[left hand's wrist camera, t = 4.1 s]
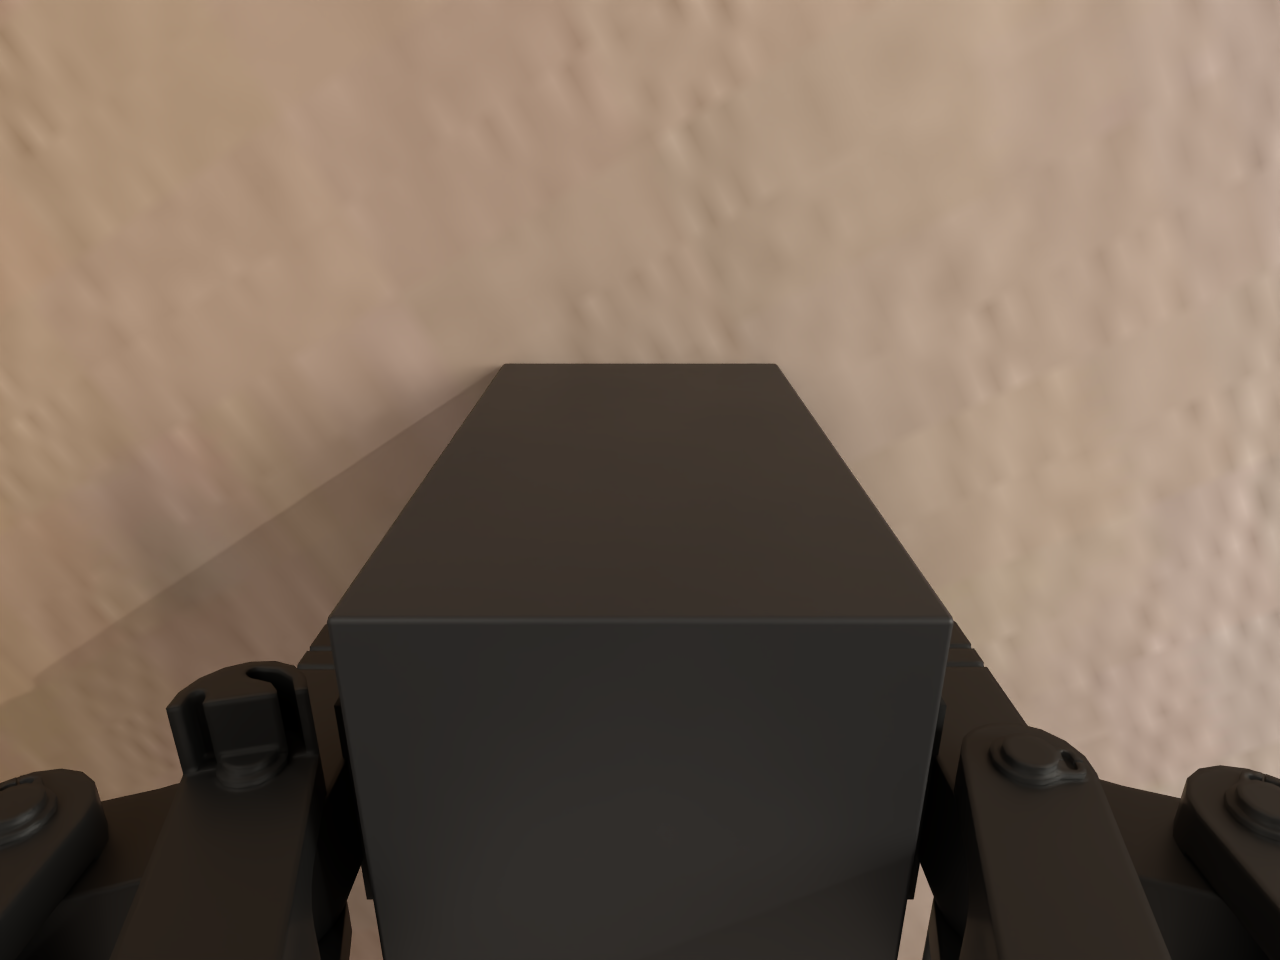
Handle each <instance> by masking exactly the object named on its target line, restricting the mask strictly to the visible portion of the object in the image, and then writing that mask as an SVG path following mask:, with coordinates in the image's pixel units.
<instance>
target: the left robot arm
mask: <svg viewBox="0 0 1280 960" xmlns="http://www.w3.org/2000/svg"><path fill="white" fill-rule="evenodd" d="M297 666H298V667H297V668H296V667H295V666H293V665H289V664H285V663H281V662H277V661H262V662H248V663H243V664H239V665H235V666H230V667H226V668H223V669H220V670H218V671H216V672H213V673H211V674H209V675H206V676H204V677H201V678H199V679H198V680H196V681H195V682H193V683H192V684H190V685H189V686H187V687H186V688H185V689H183V690H182V691H180V692H179V693H178V694H177V695H176V696H175V698H174V699H173V700H172V701H171V703H170V704H169V705H168V706H167V708H166V711H167V714H168V718H169V722H170V726H171V730H172V733H173V737H174V741H175V745H176V748H177V752H178V756H179V760H180V764H181V767H182V771H183V777H182V779H181V782H180V783H178V784H174V785H171V786H167V787H164V788H161V789H156V790H152V791H147V792H143V793H138V794H133V795H129V796H124V797H120V798H115V799H111V800H106V801H102V802H101V800H100V797H99V794H98V791H97V788H96V785H95V782H94V781H93V780H92V779H91V778H89V777H88V776H87V775H86V774H85V773H83V772H80V771H73V770H67V769H55V770H47V771H39V772H33V773H30V774H27V775H23V776H20V777H17V778H13V779H10V780H8V781H5V782H2V783H0V960H349V957H350V947H351V936H352V928H351V922H350V915H349V909H348V904H347V899H348V896H349V894H350V891H351V889H352V886H353V884H354V881H355V879H356V876H357V874H358V871H359V869H360V866H361V867H362V873H363V879H364V885H365V891H366V897H367V899H373V895H372V889H371V883H370V877H369V871H368V865H367V859H366V853H365V847H364V841H363V835H362V829H361V823H360V817H359V811H358V805H357V799H356V793H355V787H354V781H353V775H352V769H351V763H350V757H349V751H348V745H347V739H346V733H345V727H344V721H343V715H342V709H341V703H340V697H339V691H338V685H337V679H336V673H335V667H334V661H333V655H332V649H331V643H330V637H329V631H328V625H327V624H326V625H325V626H324V627H323V629H322V630H321V632H320V633H319V634H318V636H317V637H316V639H315V640H314V642H313V643H312V645H311V646H310V651H307V652H306V653H305V655H304V656H303V658H302V659H301V661H300V662H299V663H298V665H297ZM920 863H921V866H922V868H923V871H924V873H925V876H926V878H927V881H928V883H929V886H930V888H931V891H932V893H933V896H934V899H933V904H932V909H931V915H930V920H929V926H928V931H927V937H926V942H925V948H924V953H923V958H922V960H1280V779H1278V778H1275V777H1273V776H1270V775H1267V774H1262V773H1261V772H1257V771H1253V770H1250V769H1245V768H1237V767H1229V766H1221V765H1220V766H1213V767H1207V768H1200V769H1198V770H1197V771H1196V772H1194V773H1193V774H1192V775H1191V776H1190V777H1188V778H1187V781H1186V784H1185V787H1184V790H1183V793H1182V796H1181V799H1180V798H1176V797H1171V796H1167V795H1162V794H1158V793H1153V792H1148V791H1144V790H1139V789H1135V788H1130V787H1126V786H1121V785H1118V784H1114V783H1111V782H1107V781H1104V780H1100V779H1099V778H1098V775H1097V773H1096V772H1095V770H1094V769H1093V767H1092V766H1091V764H1090V763H1089V761H1088V760H1087V759H1086V757H1085V756H1084V755H1083V754H1081V753H1080V752H1079V751H1078V750H1076V749H1075V748H1074V747H1072V746H1071V745H1070V744H1069V743H1067V742H1066V741H1064V740H1062V739H1060V738H1058V737H1056V736H1054V735H1052V734H1050V733H1048V732H1046V731H1043V730H1041V729H1037V728H1033V727H1030V726H1027V724H1026V723H1025V721H1024V720H1023V718H1022V717H1021V716H1020V714H1019V713H1018V711H1017V710H1016V708H1015V707H1014V705H1013V704H1012V703H1011V701H1010V700H1009V698H1008V697H1007V695H1006V694H1005V692H1004V691H1003V690H1002V688H1001V687H1000V685H999V684H998V682H997V681H996V679H995V678H994V677H993V675H992V674H991V672H990V671H989V669H988V668H987V667H984V662H983V661H982V659H981V658H980V656H979V655H978V654H977V652H976V651H975V649H971V643H970V642H969V641H968V639H967V638H966V636H965V635H964V633H963V632H962V630H961V629H960V628H959V626H958V625H957V623H956V622H955V621H953V629H952V635H951V641H950V647H949V653H948V659H947V665H946V671H945V677H944V683H943V689H942V695H941V701H940V707H939V713H938V719H937V725H936V731H935V737H934V743H933V748H932V754H931V760H930V766H929V772H928V778H927V784H926V790H925V796H924V802H923V808H922V814H921V820H920V826H919V832H918V838H917V844H916V850H915V856H914V862H913V868H912V874H911V880H910V886H909V892H908V898H907V899H914V894H915V888H916V882H917V876H918V871H919V865H920Z"/></svg>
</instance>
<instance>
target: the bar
mask: <svg viewBox="0 0 1280 960" xmlns="http://www.w3.org/2000/svg"><path fill="white" fill-rule="evenodd" d="M327 625H328V631H329V637H330V643H331V649H332V655H333V661H334V667H335V673H336V679H337V685H338V691H339V697H340V703H341V709H342V715H343V721H344V727H345V733H346V739H347V745H348V751H349V757H350V763H351V769H352V775H353V781H354V787H355V793H356V799H357V805H358V811H359V817H360V823H361V829H362V835H363V841H364V847H365V853H366V859H367V865H368V871H369V877H370V883H371V889H372V895H373V901H374V907H375V913H376V919H377V925H378V931H379V937H380V943H381V949H382V955H383V960H897V958H898V952H899V946H900V940H901V934H902V928H903V922H904V916H905V910H906V904H907V898H908V892H909V886H910V880H911V874H912V868H913V862H914V856H915V850H916V844H917V838H918V832H919V826H920V820H921V814H922V808H923V802H924V796H925V790H926V784H927V778H928V772H929V766H930V760H931V754H932V748H933V743H934V737H935V731H936V725H937V719H938V713H939V707H940V701H941V695H942V689H943V683H944V677H945V671H946V665H947V659H948V653H949V647H950V641H951V635H952V629H953V618H952V616H951V615H950V613H949V612H948V610H947V609H946V607H945V606H944V605H943V603H942V602H941V600H940V599H939V597H938V596H937V595H936V593H935V592H934V590H933V589H932V587H931V586H930V584H929V583H928V582H927V580H926V579H925V577H924V576H923V574H922V573H921V572H920V570H919V569H918V567H917V566H916V564H915V563H914V561H913V560H912V559H911V557H910V556H909V554H908V553H907V551H906V550H905V548H904V547H903V546H902V544H901V543H900V541H899V540H898V538H897V537H896V536H895V534H894V533H893V531H892V530H891V528H890V527H889V525H888V524H887V523H886V521H885V520H884V518H883V517H882V515H881V514H880V513H879V511H878V510H877V508H876V507H875V505H874V504H873V502H872V501H871V500H870V498H869V497H868V495H867V494H866V492H865V491H864V490H863V488H862V487H861V485H860V484H859V482H858V481H857V479H856V478H855V477H854V475H853V474H852V472H851V471H850V469H849V468H848V466H847V465H846V464H845V462H844V461H843V459H842V458H841V456H840V455H839V454H838V452H837V451H836V449H835V448H834V446H833V445H832V443H831V442H830V441H829V439H828V438H827V436H826V435H825V433H824V432H823V431H822V429H821V428H820V426H819V425H818V423H817V422H816V420H815V419H814V418H813V416H812V415H811V413H810V412H809V410H808V409H807V407H806V406H805V405H804V403H803V402H802V400H801V399H800V397H799V396H798V395H797V393H796V392H795V390H794V389H793V387H792V386H791V384H790V383H789V382H788V380H787V379H786V377H785V376H784V374H783V373H782V372H781V370H780V369H779V367H778V366H777V365H776V364H504V365H503V366H502V368H501V369H500V370H499V372H498V373H497V375H496V376H495V378H494V379H493V381H492V382H491V383H490V385H489V386H488V388H487V389H486V391H485V392H484V394H483V395H482V396H481V398H480V399H479V401H478V402H477V404H476V405H475V407H474V408H473V409H472V411H471V412H470V414H469V415H468V417H467V418H466V419H465V421H464V422H463V424H462V425H461V427H460V428H459V430H458V431H457V432H456V434H455V435H454V437H453V438H452V440H451V441H450V443H449V444H448V445H447V447H446V448H445V450H444V451H443V453H442V454H441V456H440V457H439V458H438V460H437V461H436V463H435V464H434V466H433V467H432V469H431V470H430V471H429V473H428V474H427V476H426V477H425V479H424V480H423V481H422V483H421V484H420V486H419V487H418V489H417V490H416V492H415V493H414V494H413V496H412V497H411V499H410V500H409V502H408V503H407V505H406V506H405V507H404V509H403V510H402V512H401V513H400V515H399V516H398V518H397V519H396V520H395V522H394V523H393V525H392V526H391V528H390V529H389V531H388V532H387V533H386V535H385V536H384V538H383V539H382V541H381V542H380V544H379V545H378V546H377V548H376V549H375V551H374V552H373V554H372V555H371V556H370V558H369V559H368V561H367V562H366V564H365V565H364V567H363V568H362V569H361V571H360V572H359V574H358V575H357V577H356V578H355V580H354V581H353V582H352V584H351V585H350V587H349V588H348V590H347V591H346V593H345V594H344V595H343V597H342V598H341V600H340V601H339V603H338V604H337V606H336V607H335V608H334V610H333V611H332V613H331V614H330V616H329V617H328V620H327Z"/></svg>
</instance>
